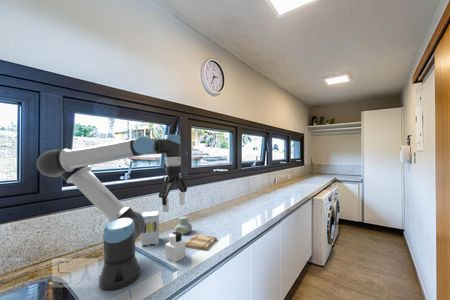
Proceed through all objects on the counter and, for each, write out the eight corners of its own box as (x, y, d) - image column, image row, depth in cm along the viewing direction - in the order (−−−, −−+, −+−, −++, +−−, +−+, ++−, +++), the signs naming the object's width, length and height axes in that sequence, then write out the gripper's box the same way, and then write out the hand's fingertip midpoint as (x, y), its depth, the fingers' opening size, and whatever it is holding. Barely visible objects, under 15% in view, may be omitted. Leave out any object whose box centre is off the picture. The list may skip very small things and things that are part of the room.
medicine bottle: (177, 252, 106) (176, 229, 106) (186, 256, 101) (185, 232, 101) (165, 258, 100) (164, 233, 100) (174, 262, 96) (173, 237, 96)
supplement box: (140, 246, 114) (140, 216, 114) (142, 240, 122) (142, 212, 123) (158, 244, 116) (158, 214, 116) (159, 237, 125) (158, 210, 125)
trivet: (205, 250, 107) (205, 247, 107) (183, 246, 112) (183, 243, 112) (216, 239, 120) (216, 236, 120) (195, 236, 125) (195, 233, 125)
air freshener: (193, 231, 134) (193, 216, 135) (188, 236, 126) (188, 220, 127) (179, 229, 137) (178, 215, 137) (172, 234, 129) (172, 219, 130)
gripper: (163, 167, 88) (164, 215, 88) (192, 163, 112) (193, 202, 111) (149, 167, 91) (150, 214, 91) (181, 163, 114) (182, 201, 114)
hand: (174, 207), depth 101 cm, fingers open, 13 cm apart
